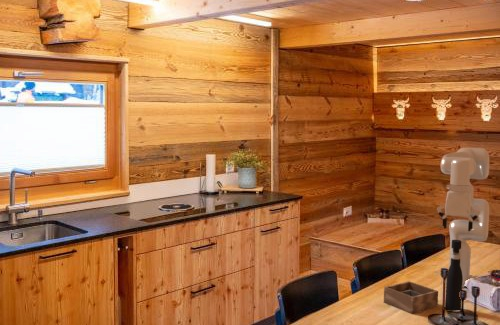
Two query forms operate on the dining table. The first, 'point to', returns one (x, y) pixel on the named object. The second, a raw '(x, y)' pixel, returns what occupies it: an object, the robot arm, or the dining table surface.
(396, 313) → the dining table surface
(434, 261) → the dining table surface
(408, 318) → the dining table surface
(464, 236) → the robot arm
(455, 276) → the wine bottle
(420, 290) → the crate
